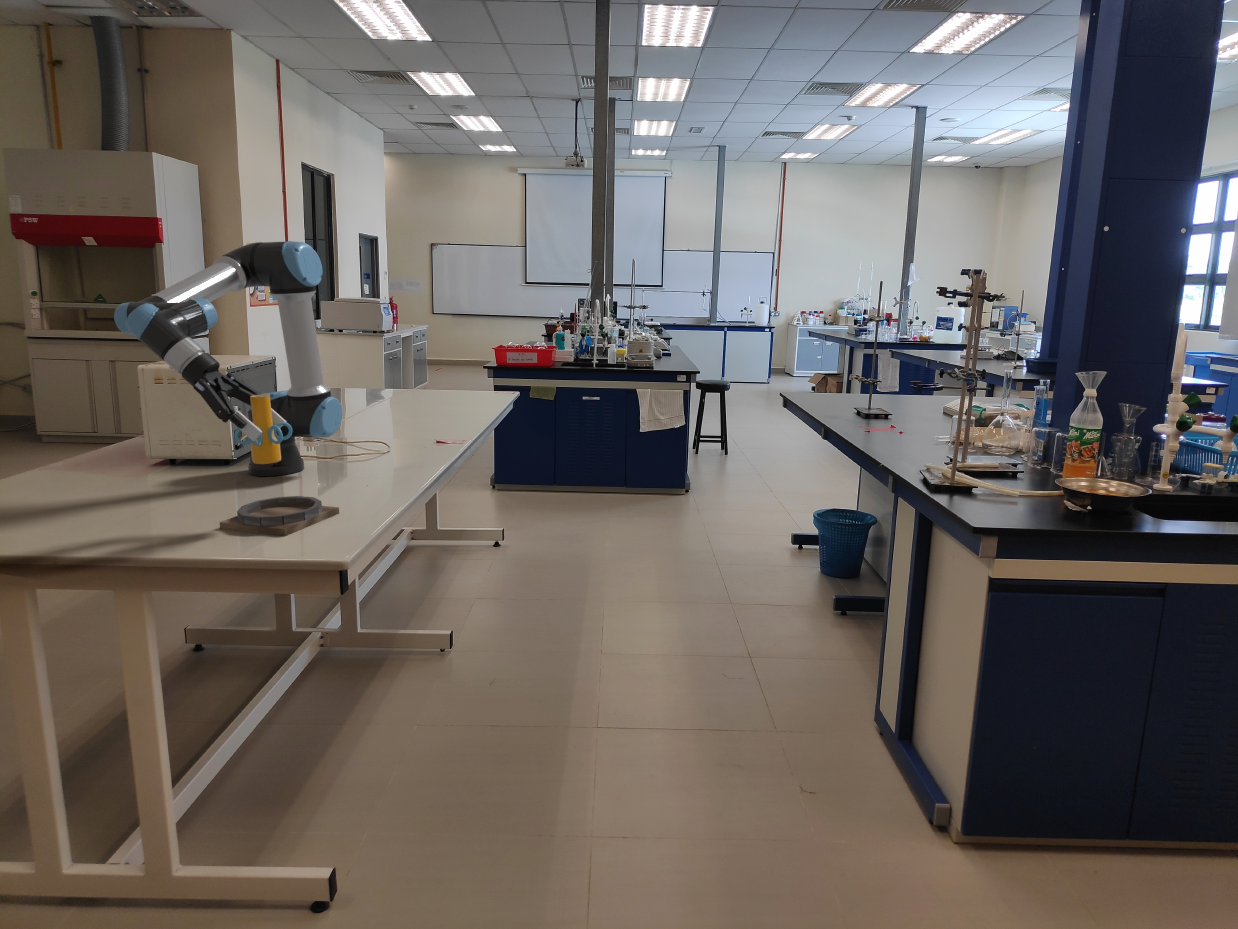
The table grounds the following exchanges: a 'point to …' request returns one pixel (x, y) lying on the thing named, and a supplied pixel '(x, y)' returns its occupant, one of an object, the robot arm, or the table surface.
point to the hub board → (279, 527)
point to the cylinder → (264, 432)
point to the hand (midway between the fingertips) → (270, 431)
